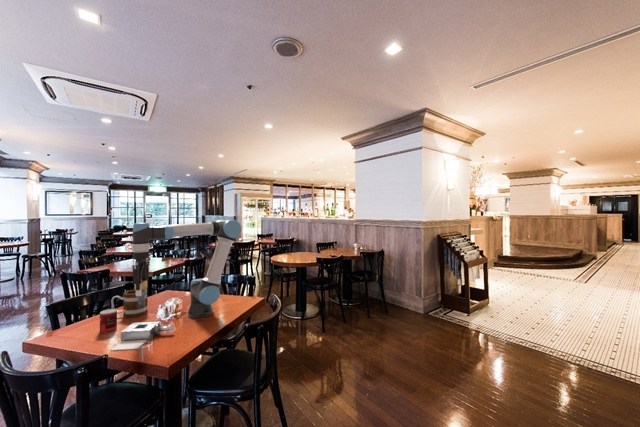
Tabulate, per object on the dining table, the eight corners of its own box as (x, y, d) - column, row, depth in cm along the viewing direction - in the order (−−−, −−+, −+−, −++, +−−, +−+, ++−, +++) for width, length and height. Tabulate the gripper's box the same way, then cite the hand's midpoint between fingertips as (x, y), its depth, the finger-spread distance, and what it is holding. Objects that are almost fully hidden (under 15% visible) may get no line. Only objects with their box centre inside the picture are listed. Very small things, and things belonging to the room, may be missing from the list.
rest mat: (146, 340, 143) (146, 339, 143) (137, 349, 134) (137, 348, 134) (121, 342, 142) (121, 341, 142) (110, 350, 133) (110, 349, 133)
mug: (147, 309, 191) (147, 287, 191) (148, 315, 180) (148, 292, 180) (112, 315, 180) (112, 292, 180) (110, 322, 169) (110, 297, 169)
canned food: (105, 328, 160) (105, 309, 160) (120, 327, 160) (120, 308, 161) (96, 333, 152) (96, 313, 152) (111, 333, 153) (111, 313, 153)
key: (147, 305, 152) (147, 279, 152) (143, 308, 147) (143, 281, 148) (138, 305, 151) (138, 280, 151) (134, 308, 147) (134, 282, 147)
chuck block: (176, 329, 157) (176, 319, 157) (168, 338, 145) (168, 328, 145) (133, 331, 154) (133, 322, 154) (120, 341, 142) (120, 330, 142)
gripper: (141, 249, 158) (141, 290, 158) (124, 253, 140) (124, 299, 140) (155, 249, 159) (156, 289, 159) (140, 253, 141) (140, 299, 141)
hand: (141, 294), depth 149 cm, fingers closed on key, 4 cm apart
